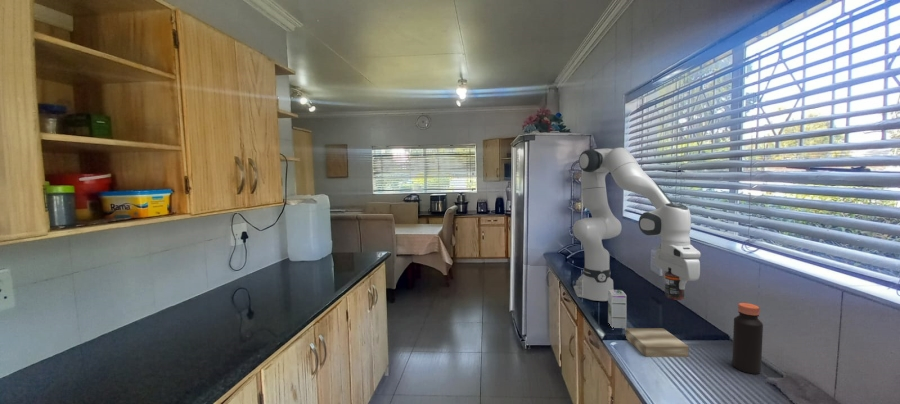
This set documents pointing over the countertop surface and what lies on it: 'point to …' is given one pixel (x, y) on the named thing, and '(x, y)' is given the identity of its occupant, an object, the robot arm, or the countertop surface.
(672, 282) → the supplement bottle
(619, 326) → the syrup box
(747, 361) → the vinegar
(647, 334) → the beech block
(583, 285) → the robot arm
